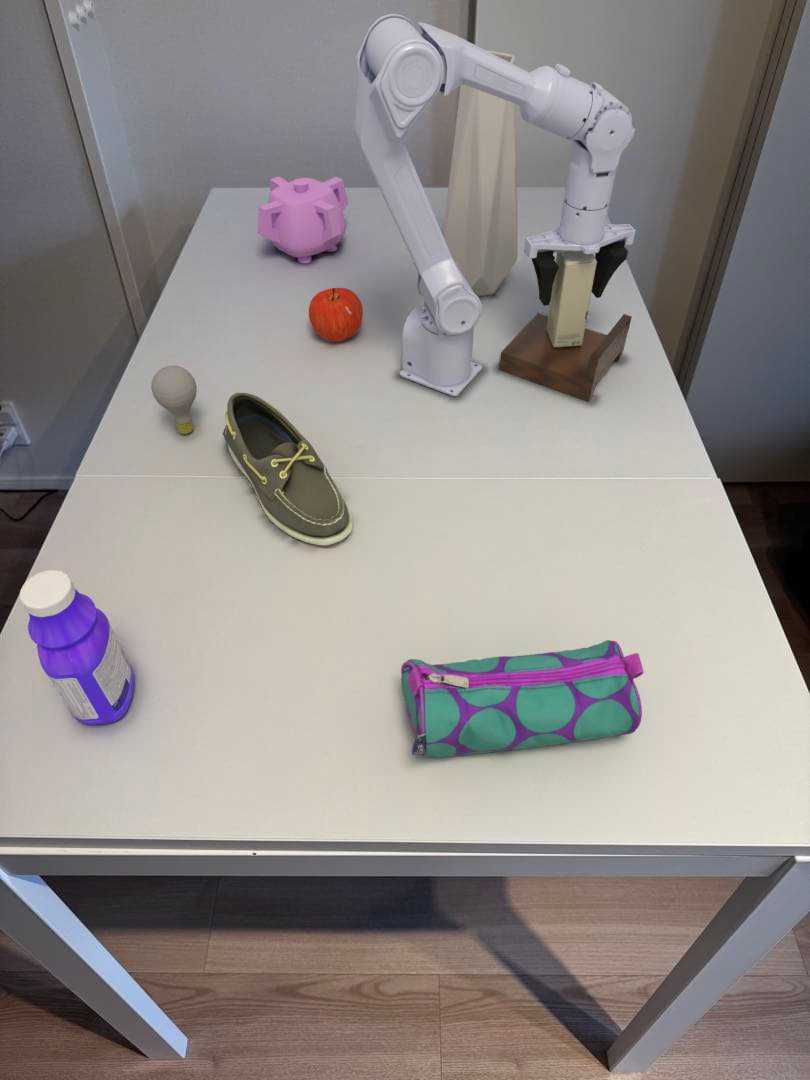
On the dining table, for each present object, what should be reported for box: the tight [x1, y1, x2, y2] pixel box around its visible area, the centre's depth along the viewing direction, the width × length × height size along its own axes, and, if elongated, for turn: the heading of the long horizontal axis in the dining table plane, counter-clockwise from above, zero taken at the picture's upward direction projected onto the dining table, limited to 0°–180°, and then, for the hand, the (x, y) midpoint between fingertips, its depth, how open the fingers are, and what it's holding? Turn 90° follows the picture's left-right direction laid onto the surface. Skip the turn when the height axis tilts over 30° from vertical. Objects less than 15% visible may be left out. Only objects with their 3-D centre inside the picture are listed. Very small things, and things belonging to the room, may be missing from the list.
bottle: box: [19, 569, 135, 726], centre depth 69 cm, size 7×6×17 cm
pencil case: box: [400, 639, 645, 758], centre depth 70 cm, size 21×9×10 cm, turn 97°
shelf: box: [498, 312, 633, 403], centre depth 109 cm, size 14×12×7 cm
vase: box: [442, 50, 519, 297], centre depth 114 cm, size 12×12×33 cm
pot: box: [257, 176, 350, 264], centre depth 130 cm, size 18×17×12 cm
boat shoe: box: [222, 392, 354, 546], centre depth 93 cm, size 24×10×7 cm, turn 27°
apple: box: [308, 287, 364, 343], centre depth 114 cm, size 8×8×8 cm
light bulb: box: [151, 365, 198, 435], centre depth 99 cm, size 6×5×10 cm
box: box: [547, 251, 597, 347], centre depth 106 cm, size 5×4×13 cm
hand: (569, 297), depth 106 cm, fingers open, 7 cm apart
